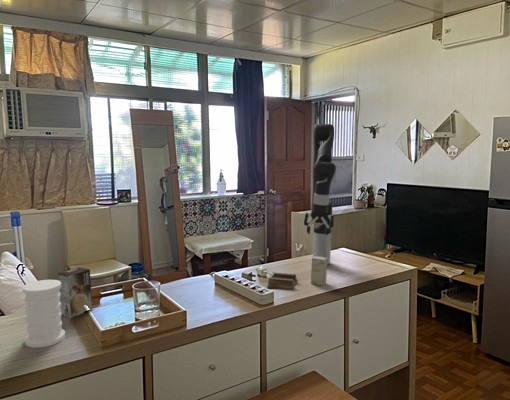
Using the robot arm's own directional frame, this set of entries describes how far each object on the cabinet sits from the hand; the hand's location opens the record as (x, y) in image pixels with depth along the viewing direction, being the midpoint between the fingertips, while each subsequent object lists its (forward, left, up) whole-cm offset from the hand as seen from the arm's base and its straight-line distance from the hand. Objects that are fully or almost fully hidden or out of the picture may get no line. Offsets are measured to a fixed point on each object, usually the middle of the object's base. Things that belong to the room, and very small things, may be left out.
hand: (317, 234), depth 201 cm
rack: (+23, -13, -19) cm, 33 cm away
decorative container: (+97, -76, -19) cm, 125 cm away
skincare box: (+18, +3, -19) cm, 27 cm away
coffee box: (+76, -81, -19) cm, 113 cm away
